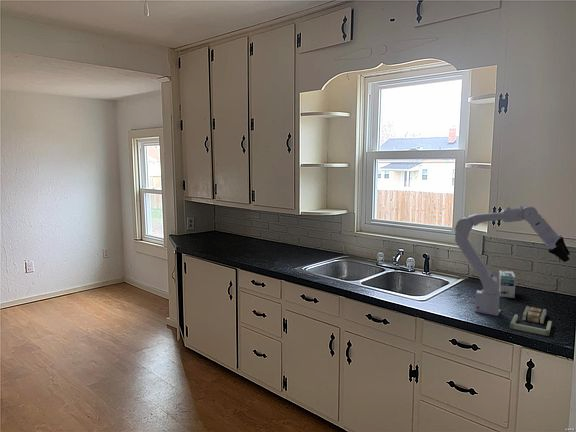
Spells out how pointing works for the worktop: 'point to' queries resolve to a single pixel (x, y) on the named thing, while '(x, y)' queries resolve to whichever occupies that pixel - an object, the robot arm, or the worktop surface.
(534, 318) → the tan wooden block
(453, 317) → the worktop surface
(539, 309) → the tan square block
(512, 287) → the light bulb box
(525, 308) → the slot rails
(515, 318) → the tray
